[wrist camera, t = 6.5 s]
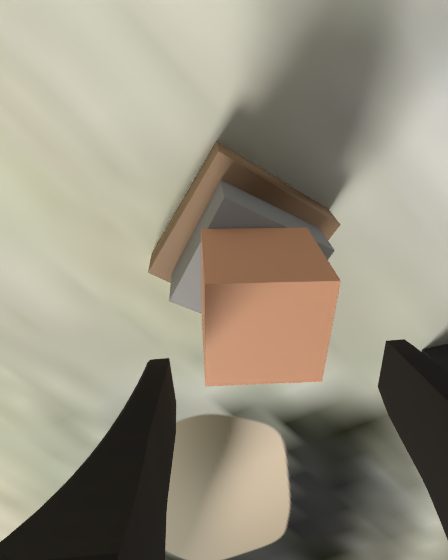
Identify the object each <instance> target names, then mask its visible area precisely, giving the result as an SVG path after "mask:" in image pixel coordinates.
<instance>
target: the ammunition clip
mask: <svg viewBox="0 0 448 560" xmlns="http://www.w3.org/2000/svg"><path fill="white" fill-rule="evenodd" d="M422 353H423V354H425V355H426V356H427V357H429V358H430V359H431V360H433V361H434V362H435V363H437V364H438V365H439V366H441V367H442V368H443V369H445V370H446V371H448V344H445V345H441V346H436V347H432V348H427V349H423V350H422Z"/></svg>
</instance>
